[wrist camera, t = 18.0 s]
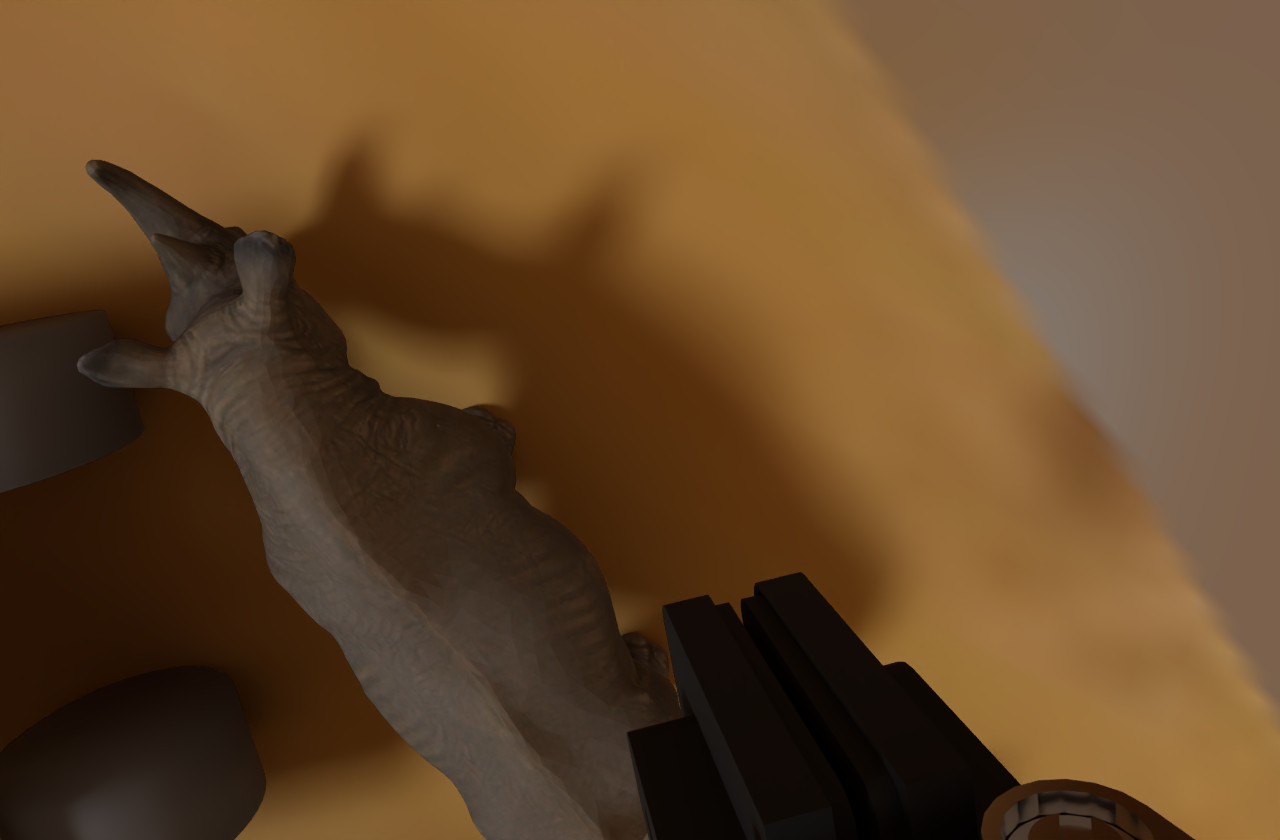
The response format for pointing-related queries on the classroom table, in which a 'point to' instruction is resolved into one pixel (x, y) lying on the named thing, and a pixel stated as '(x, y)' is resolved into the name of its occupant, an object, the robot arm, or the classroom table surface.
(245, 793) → the trolley
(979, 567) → the classroom table surface
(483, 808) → the rhino figurine
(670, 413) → the classroom table surface
